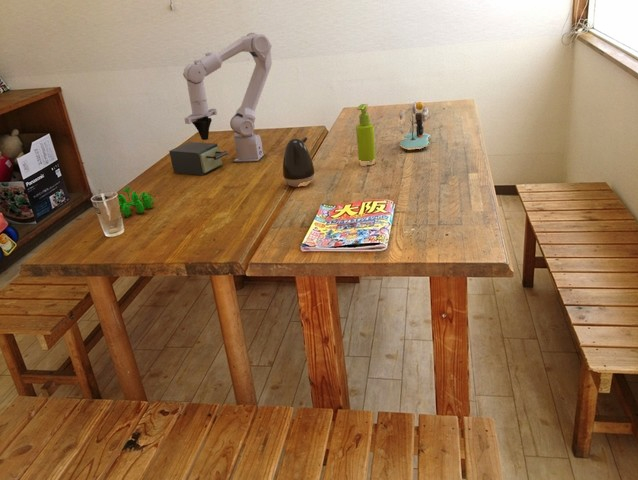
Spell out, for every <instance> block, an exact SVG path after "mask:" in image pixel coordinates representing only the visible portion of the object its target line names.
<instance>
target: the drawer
mask: <svg viewBox="0 0 638 480" xmlns="http://www.w3.org/2000/svg"><path fill="white" fill-rule="evenodd" d="M228 154H229V153H228V151H227V150H223V151H221V148H220V146H218V147H215V148H211V149H209V150H207V151H206V152H204V153H202V154H200V155H199V157H200V162H201V167H202V172H203V173H206V172H208V171H210V170H212V169H213V168H215V167H217V166H219V165H221V166H222V165H223V160H222V158H223V157H225V156H227V155H228ZM219 167H220V166H219ZM217 168H218V167H217ZM215 169H216V168H215ZM213 170H214V169H213ZM213 170H212V171H213ZM210 172H211V171H210ZM208 173H209V172H208ZM206 174H207V173H206Z"/></svg>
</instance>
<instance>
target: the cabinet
mask: <svg viewBox="0 0 638 480" xmlns="http://www.w3.org/2000/svg"><path fill="white" fill-rule="evenodd" d="M215 147H219V145H218V143H213V142H197V141H195V142H194V141H188V142H186V143H184V144H181V145H179V146H177V147H174V148H172V149H170V150H168V153H169V156H170V161H171V167H172V170H173V174H182V175H194V176H204V175H205V174H207V173H210V172H211V171H214V170H215V169H217V168H219V167H221V166H222V164H221V165H219V166H217V167H215V168H213V169H212V170H210V171H208V172H206V173H203V172H202V167H201V162H200V157H199V154H200V153H203V152H205V151H207V150H209V149H211V148H215Z"/></svg>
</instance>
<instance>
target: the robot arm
mask: <svg viewBox="0 0 638 480" xmlns="http://www.w3.org/2000/svg"><path fill="white" fill-rule="evenodd" d="M271 50H272V44H271V42H270V39H269V38H268V37H267V36H266V35H265V34H263V33H256V32H249V33H247V34H245V35H243V36H241V37H239V38H238V39H236V40H234V41H233V42H232V43H230V44H229V45H227V46H226V47H224V48H223V49H221V50H220V51H218V52H217V53H216V52H213V51H211V52H209V51H207V52H206V53H205V55H204V56H202V57H201V58H199V59H195V60H193V63H188V64H187V65H185V67H184V69H183V73H182V75H183V78H184V79H185V80H186V84H187V91H188V92H187V93H188V97H189V102H190V108H191V113H192V114H190V115H188V116H186V117H183V118H184V124H187V125H190V124H193V126H194V127H195V129H196V130H197V132H198V134H199V136H200V139H201V140H202V141H207V140H209V134H210V127H211V124H212V116H217V115H218V111H217V108H210V109H209V105H208V100H207V95H206V88H205V83H204V80H205V77H208V76H209V75H212V73H214V72H215V71H218V70H219V69H221V67H222V65H223V62H225V61H227V60H229V59H231V58H233V57H234V56H236V55H238V54H240V53H242V52H243V53H249V54H250V55H251V57H252V58H253V61H254V64H255V65H254V69H253V71H252V74H251V77H250V78H249V83H248V85H247V88H246V91H245V93H244V97H243V98H242V102H241V105H240V106H239V108H238V109H237V110H236V112H235V114H234V115H233V116H232V117H231V118H230V122H229V127H230V128H231V130H232V131H233V132H234V133H233V138H234V144H235V150H236V155H237V157H236V158H235V159H234V160H233V162H234V163H237V162H238V163H239V162H258V161H259V160H261V159H262V158H263V157H264V156H265V153H264V149H263V142H262V138H261V135H260V134H255V133H254V131H255V122H256V113H255V112H256V109H257V107H258V103H259V101H260V98H261V95H262V92H263V90H264V87H265V84H266V81H267V79H268V76H269V73H270V71H271V69H272V65H273V61H272V51H271Z"/></svg>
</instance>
